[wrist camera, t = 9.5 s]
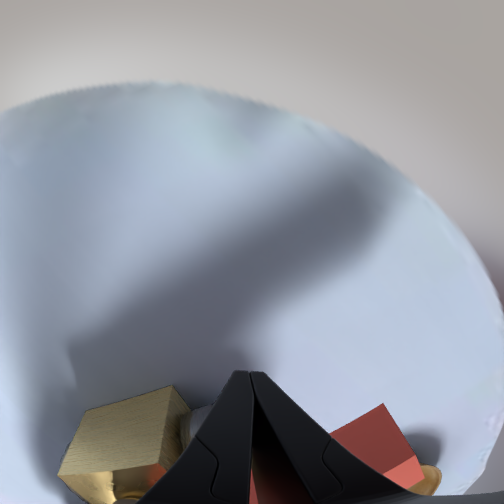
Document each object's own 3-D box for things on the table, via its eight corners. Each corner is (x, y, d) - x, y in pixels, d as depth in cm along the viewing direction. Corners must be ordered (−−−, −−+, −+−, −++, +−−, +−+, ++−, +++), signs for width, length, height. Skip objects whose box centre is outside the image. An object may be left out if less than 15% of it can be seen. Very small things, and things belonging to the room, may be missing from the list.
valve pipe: (115, 475, 19) (99, 537, 13) (58, 417, 17) (25, 481, 11) (266, 440, 19) (279, 518, 13) (218, 368, 17) (219, 456, 11)
